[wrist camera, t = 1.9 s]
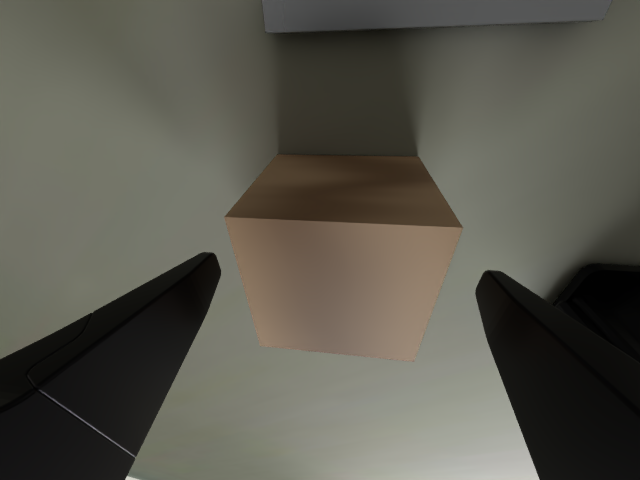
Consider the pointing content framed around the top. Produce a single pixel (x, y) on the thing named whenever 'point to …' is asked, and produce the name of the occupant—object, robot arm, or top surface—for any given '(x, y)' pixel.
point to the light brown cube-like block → (343, 253)
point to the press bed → (421, 13)
